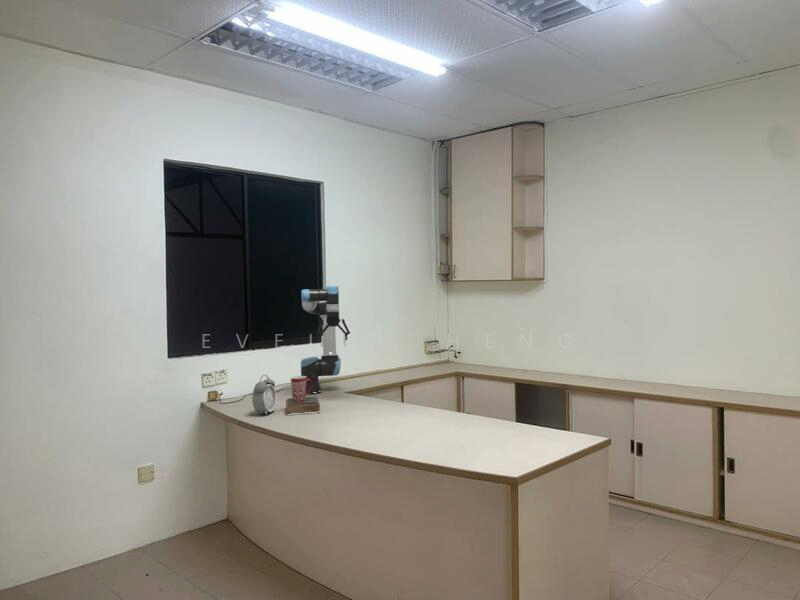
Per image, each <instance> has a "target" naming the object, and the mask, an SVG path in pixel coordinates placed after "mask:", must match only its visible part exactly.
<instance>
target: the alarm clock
mask: <svg viewBox="0 0 800 600" xmlns="http://www.w3.org/2000/svg"><path fill="white" fill-rule="evenodd" d="M265 376H266V379H263V381H262V378H263V377H265ZM275 386H276V383H275V381H274V380H273V379H271V378H270V377H269V376H268V375H267V374H263V375H261V377H260V378H259V382H257V383H256V384H255V385H254V388H253V391H252V396H251V397H252V398H251V399H252V406H253V410H254V411H255V412H256V413H260V414H262V413H264V414H266V415H267V413H271V412H272V411H273V412H274V410H275V408H276V405H277V392H276V391H277V390H276V388H275ZM261 412H262V413H261ZM273 412H272V413H273Z"/></svg>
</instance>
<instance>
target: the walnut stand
mask: <svg viewBox="0 0 800 600" xmlns="http://www.w3.org/2000/svg"><path fill="white" fill-rule="evenodd" d="M320 406H321V403H320V401H319V399H318V397H316V396H306V400H305V401H302V402H294V401H293V397H292V398H286V400H285V408H286V409H287V411H286V415H287V414H291V413H305V412H317V411H320V412H321V407H320ZM286 409H285V410H286Z"/></svg>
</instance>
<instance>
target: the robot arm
mask: <svg viewBox="0 0 800 600" xmlns="http://www.w3.org/2000/svg"><path fill="white" fill-rule="evenodd" d="M300 292H301V306H302V307H301V308H302V309H303V310H304V311H305V312H307V313H309V314H312V315H313V314H314V315H319V317H320V319H321V321H320V325H319V326H318V329H317V331H316V332H315V334H316V336H318V338H319V339H318V340H319V342H320V343H321V345H320V347H322V348H323V349H322V350H323V352H322V355H321V356H320V358H319V356H311V357H306V358H302V359H301V361H300V376H306V377H307V378H306V379H311V380H312V387H311V389H310V391H309V393H313V392H319V391H321V392H322V387H321V383H320V380H319V378H320V377H328V376H330V377H333V376H338V375H339V374H340V372H341V365H342V363H341V360H342V358H341V357H339V354H338V353H337V343H336V341H337V340H336V339H337V337H336V327H338V329H339V330H340V331H341V332H342V333H343V347H346V341H348V335H350V334H351V332H350V330H349V328H348V326H347V324H346V322H345V319H344V318H341V319H340V300H339V299H340V296H339V295H340V290H339V286H338V285H326V287H325V288H322V289H321V288H318V289H317V288H314V289H312V288H311V289H308V288H307V289H302V290H301V291H300ZM340 323H341V324H342V325H343V327H344V328H345V330H344V328H343V327H342V326H341V325H340ZM309 386H310V381H309V380H308V381H307V383H306V392H307V390H308V389H309Z"/></svg>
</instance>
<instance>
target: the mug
mask: <svg viewBox="0 0 800 600" xmlns="http://www.w3.org/2000/svg"><path fill="white" fill-rule="evenodd" d="M306 378H307V377H306V376H301V375H296V376H291V377H290V383H291V384H290V385H291V395H292V398H293V401H294V402H302V401H305V400H306V397H307V396H308V395H309V394H308V393H309V391H310V389H311V387H312V380H311V379H306ZM308 380H309V381H310V386H309V389H308V390H307V392H306V383H307V381H308Z"/></svg>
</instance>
